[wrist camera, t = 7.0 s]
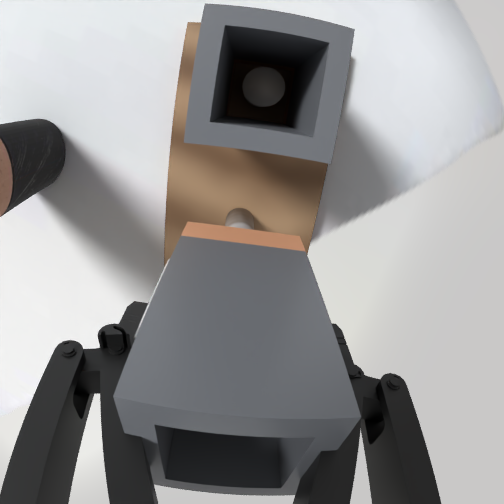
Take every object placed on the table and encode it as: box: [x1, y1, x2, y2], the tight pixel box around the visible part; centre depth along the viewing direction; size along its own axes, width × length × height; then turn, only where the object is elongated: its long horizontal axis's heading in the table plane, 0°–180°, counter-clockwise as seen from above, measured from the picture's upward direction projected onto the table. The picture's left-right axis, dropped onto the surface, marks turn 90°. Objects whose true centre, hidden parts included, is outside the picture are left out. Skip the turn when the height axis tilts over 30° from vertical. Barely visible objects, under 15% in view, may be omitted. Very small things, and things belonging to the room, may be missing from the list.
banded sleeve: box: [113, 222, 361, 495], centre depth 14 cm, size 6×6×12 cm
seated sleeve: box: [184, 4, 355, 164], centre depth 17 cm, size 6×6×12 cm
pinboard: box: [164, 22, 328, 267], centre depth 22 cm, size 22×13×8 cm, turn 172°
